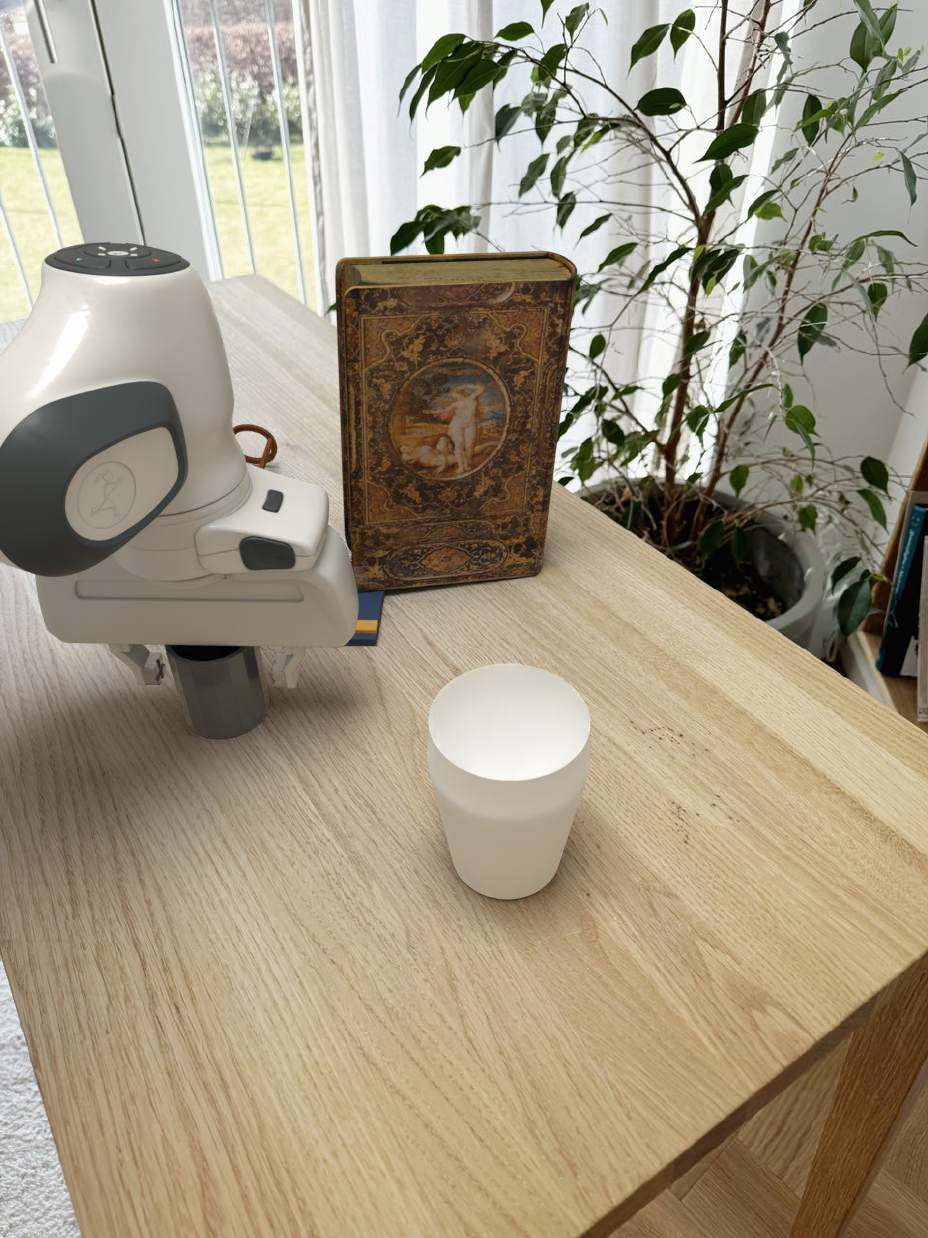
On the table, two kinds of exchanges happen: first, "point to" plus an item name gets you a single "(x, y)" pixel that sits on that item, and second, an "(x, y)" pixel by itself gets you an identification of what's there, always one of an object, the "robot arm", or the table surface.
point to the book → (450, 412)
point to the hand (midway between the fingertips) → (220, 680)
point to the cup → (508, 774)
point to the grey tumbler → (220, 687)
